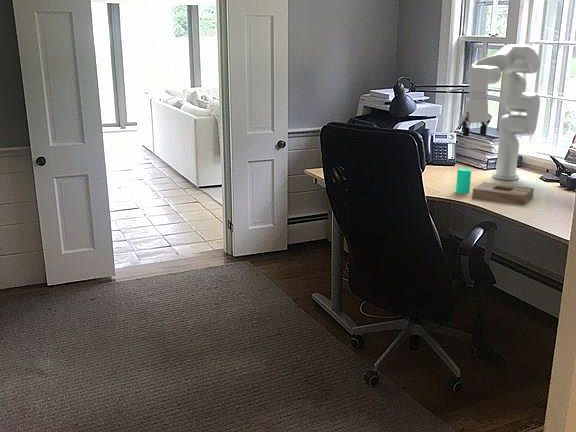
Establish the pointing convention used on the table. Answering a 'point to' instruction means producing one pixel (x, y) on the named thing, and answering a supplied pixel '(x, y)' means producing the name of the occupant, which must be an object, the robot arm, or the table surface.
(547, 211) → the table surface
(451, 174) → the table surface
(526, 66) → the robot arm
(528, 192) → the wooden socket board
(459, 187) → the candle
